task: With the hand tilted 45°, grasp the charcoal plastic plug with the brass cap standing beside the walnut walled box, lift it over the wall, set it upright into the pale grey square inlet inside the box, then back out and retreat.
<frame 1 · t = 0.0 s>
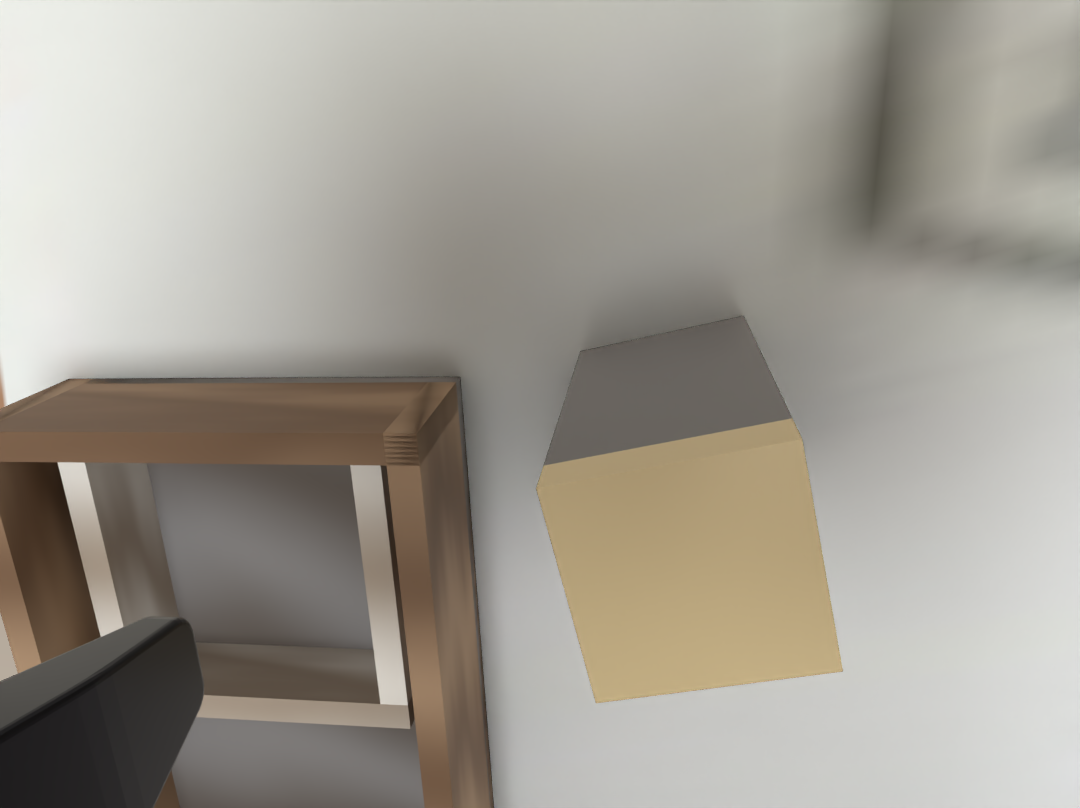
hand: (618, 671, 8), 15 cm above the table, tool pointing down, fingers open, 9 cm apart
walled box: (304, 669, 27), on the table
plug: (677, 410, 23), on the table
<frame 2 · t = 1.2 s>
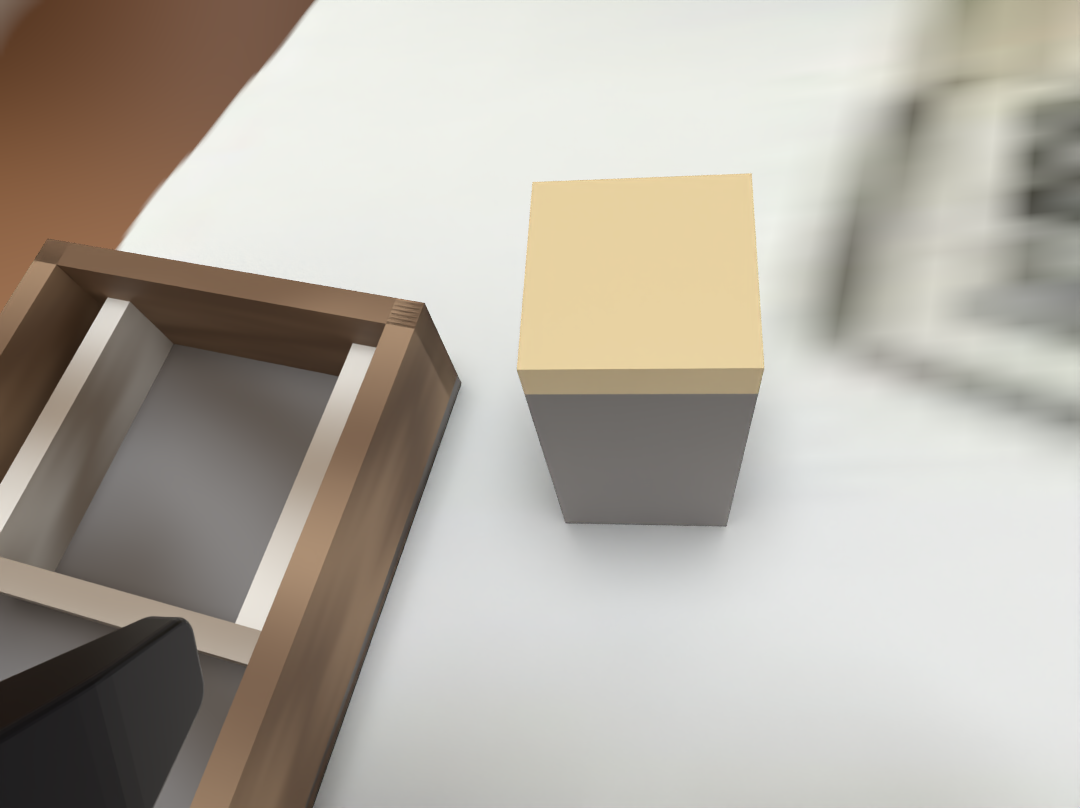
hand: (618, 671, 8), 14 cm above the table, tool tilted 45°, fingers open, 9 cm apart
walled box: (149, 656, 23), on the table
plug: (645, 451, 24), on the table
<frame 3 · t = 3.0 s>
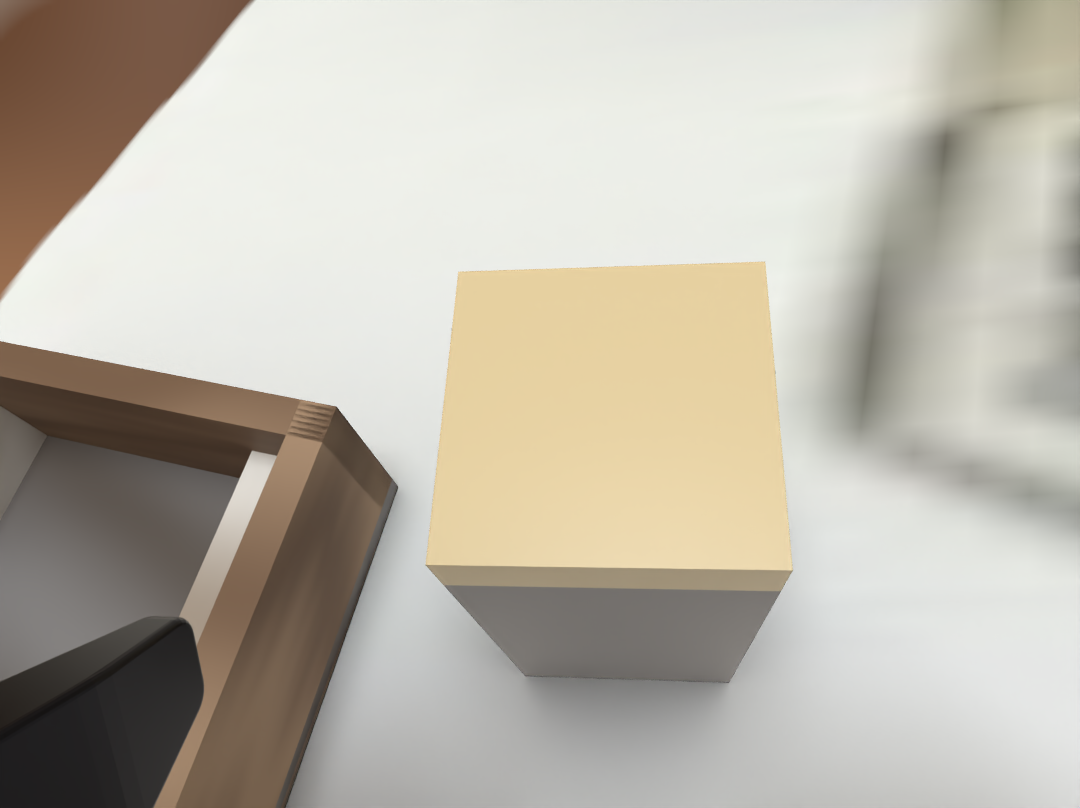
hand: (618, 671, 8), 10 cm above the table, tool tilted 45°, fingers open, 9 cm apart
plug: (625, 578, 19), on the table
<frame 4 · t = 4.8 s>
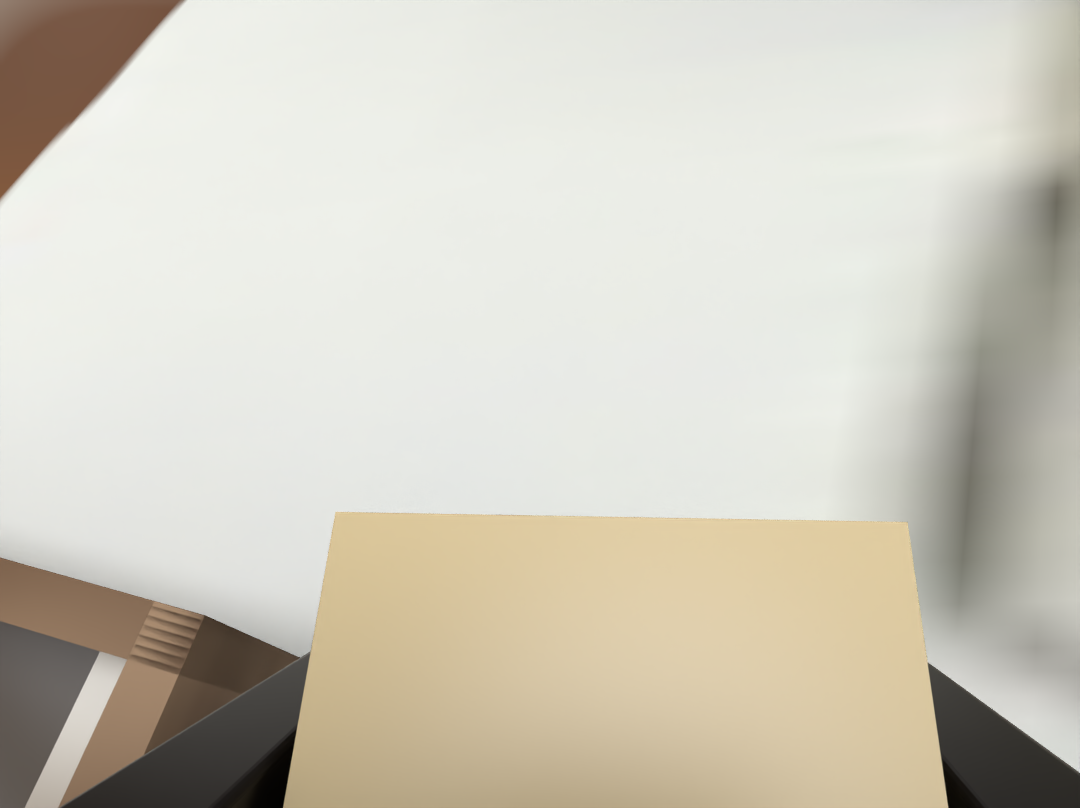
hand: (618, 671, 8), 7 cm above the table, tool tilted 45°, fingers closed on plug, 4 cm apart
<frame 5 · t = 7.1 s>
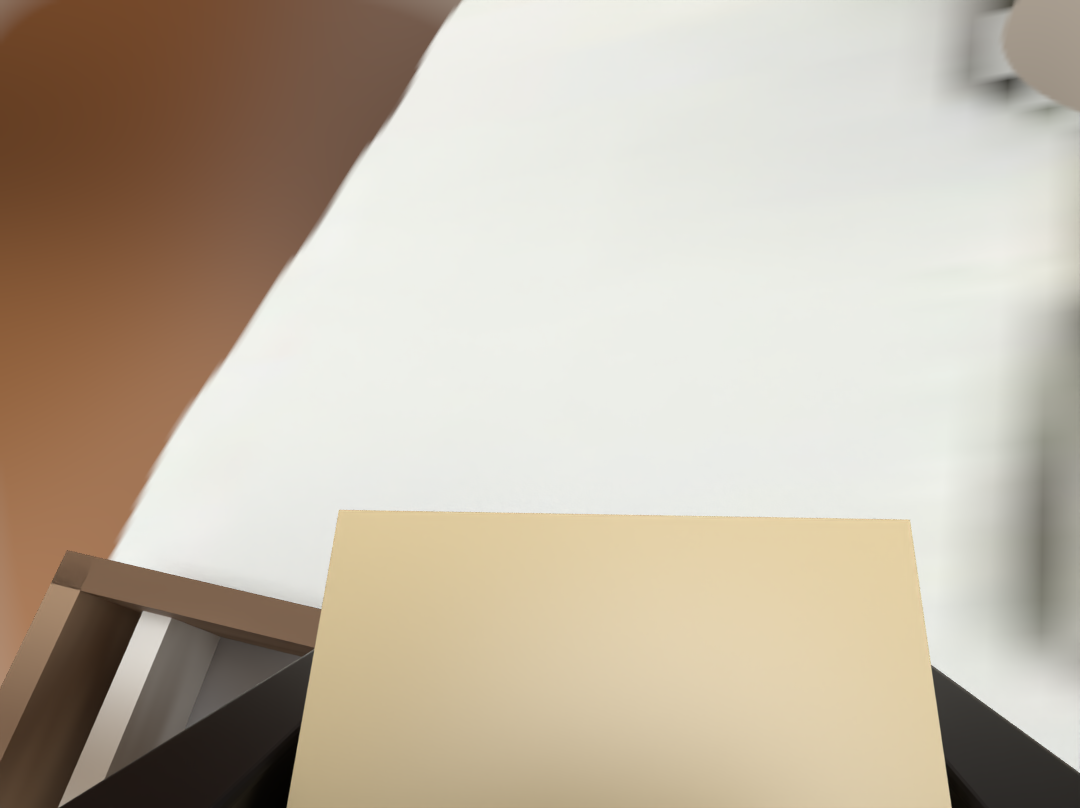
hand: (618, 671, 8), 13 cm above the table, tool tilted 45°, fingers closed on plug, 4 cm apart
when the fingers open (8 cm above the table, at t = 9.4 s): plug stays where it is, resting on walled box.
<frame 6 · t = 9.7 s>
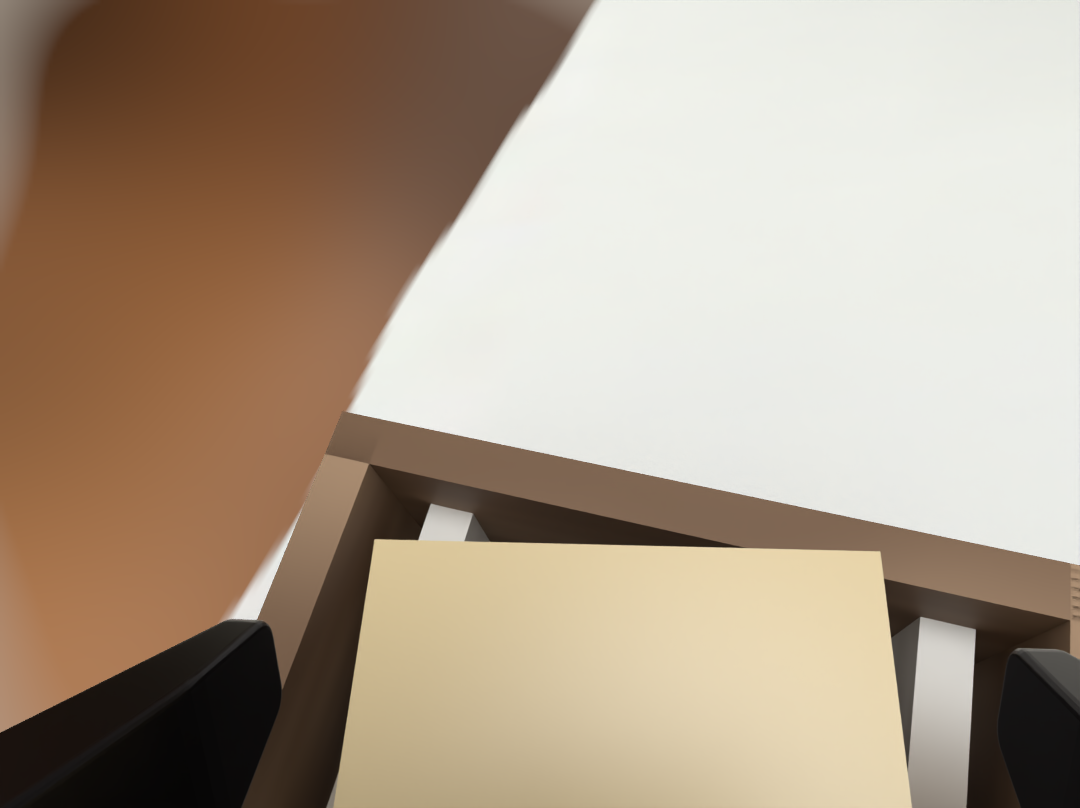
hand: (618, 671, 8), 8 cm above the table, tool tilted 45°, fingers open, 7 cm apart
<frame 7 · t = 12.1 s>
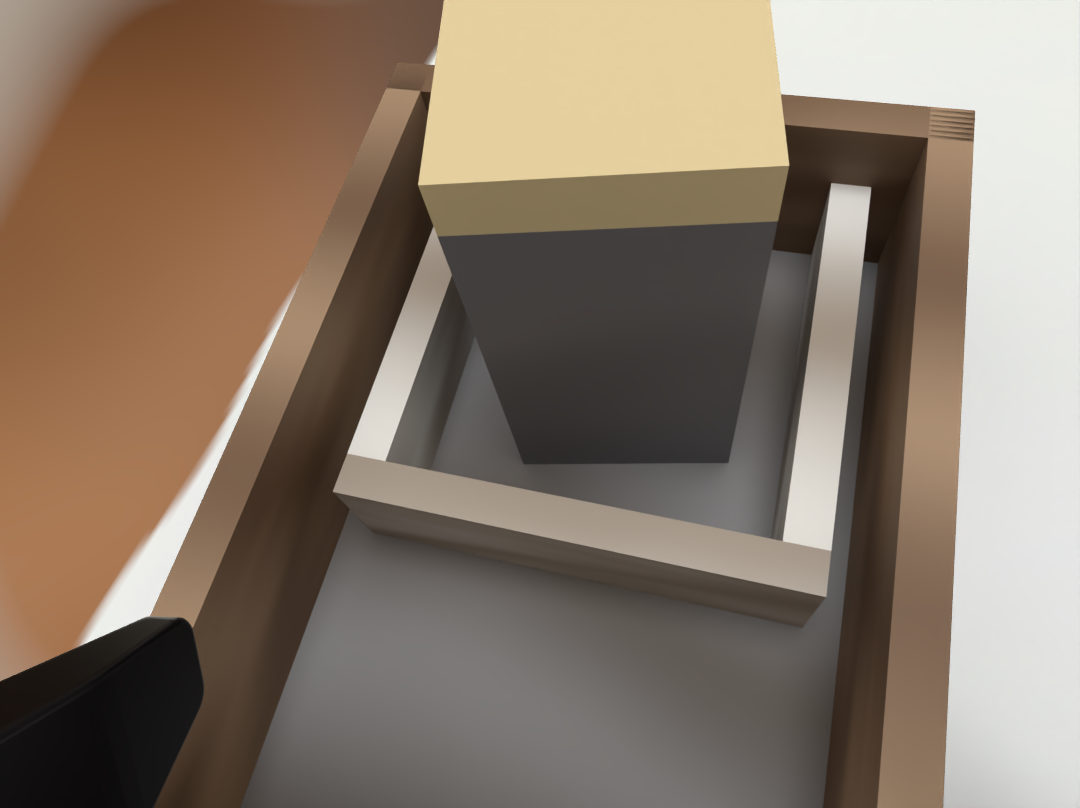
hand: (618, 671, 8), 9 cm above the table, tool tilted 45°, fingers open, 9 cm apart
walled box: (572, 604, 17), on the table
plug: (624, 374, 19), resting on walled box
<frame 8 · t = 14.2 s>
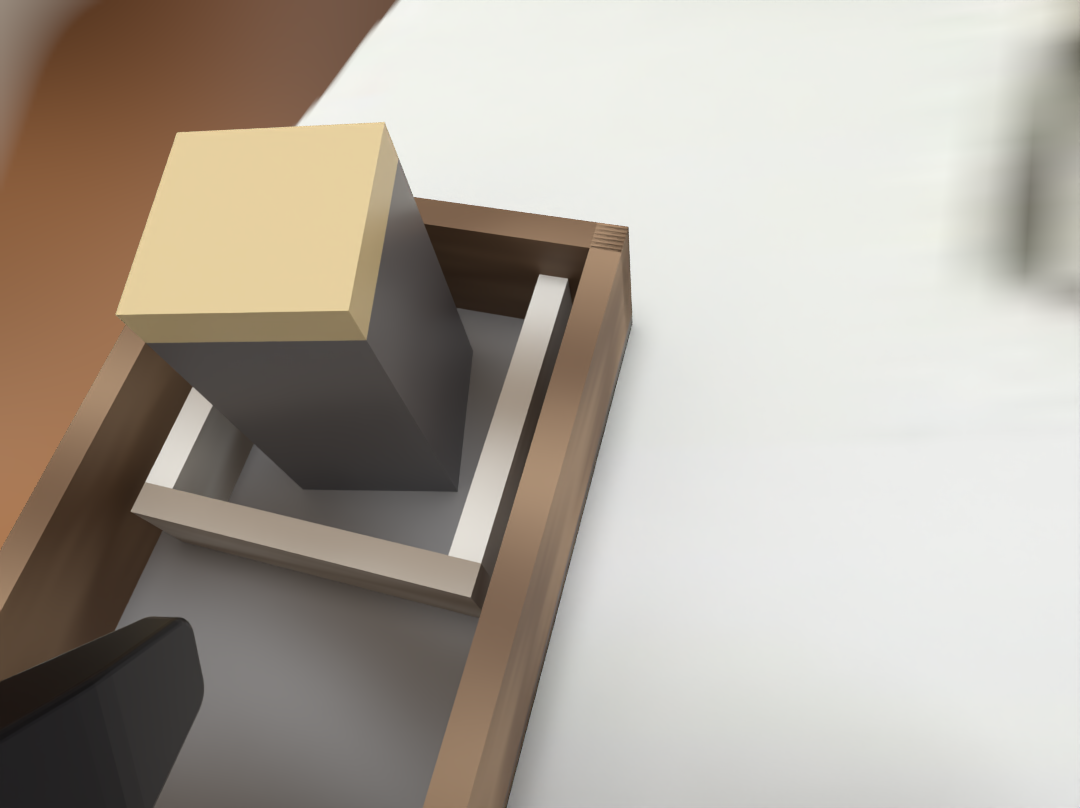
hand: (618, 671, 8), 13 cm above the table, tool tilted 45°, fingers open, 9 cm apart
walled box: (329, 600, 22), on the table
plug: (390, 418, 24), resting on walled box
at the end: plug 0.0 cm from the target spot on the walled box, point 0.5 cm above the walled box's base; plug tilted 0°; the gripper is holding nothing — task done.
